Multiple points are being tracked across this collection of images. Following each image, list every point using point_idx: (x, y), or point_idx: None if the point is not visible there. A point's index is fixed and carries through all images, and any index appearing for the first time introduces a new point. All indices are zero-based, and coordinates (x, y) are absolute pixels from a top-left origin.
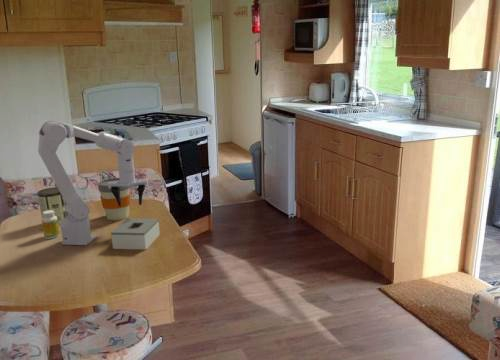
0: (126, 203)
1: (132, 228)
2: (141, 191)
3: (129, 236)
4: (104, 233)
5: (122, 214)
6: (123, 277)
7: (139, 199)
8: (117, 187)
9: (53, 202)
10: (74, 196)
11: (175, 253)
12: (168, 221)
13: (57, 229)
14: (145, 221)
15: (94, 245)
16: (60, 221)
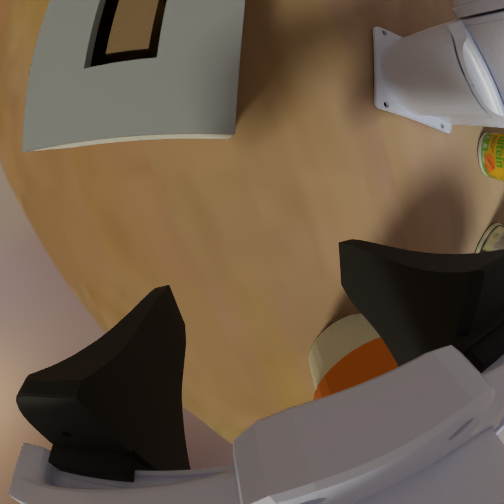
0: (326, 387)
1: (153, 18)
2: (67, 365)
3: None
4: (356, 152)
5: (330, 341)
6: None
7: (145, 308)
8: (474, 361)
9: None
10: None
11: (7, 14)
12: (103, 314)
13: (495, 150)
14: (79, 93)
15: (340, 20)
16: (495, 241)
